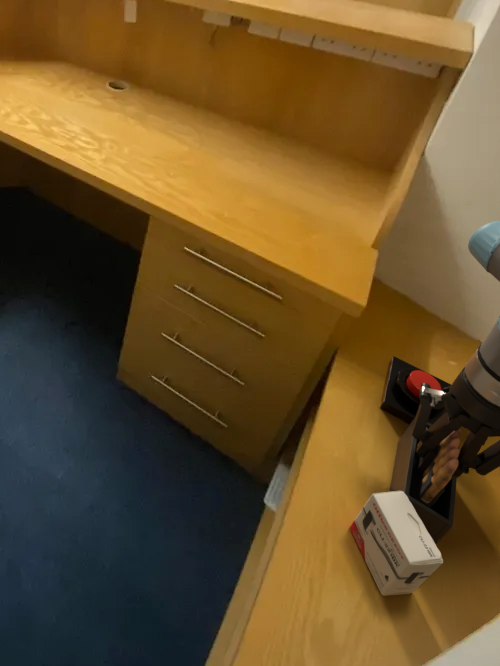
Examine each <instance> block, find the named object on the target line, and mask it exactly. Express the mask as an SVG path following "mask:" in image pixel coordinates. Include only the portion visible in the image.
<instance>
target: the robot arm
mask: <svg viewBox="0 0 500 666" xmlns="http://www.w3.org/2000/svg"><path fill="white" fill-rule="evenodd" d="M467 249H468V251H469V253H470V254H471V255H472V257H473V258H474V259H475V260H476V261H477V262H478V263H479V265H480V266H481V267H482V268H483V270H485V272H486V273H489V274H490V275H491V276H492V277H493V278H495V279H496V280H497V281H498V282H499V283H500V220H495V221H494V220H493V221H490V222H488V223H486V224H484V225H482V226H480V227H478V228H477V229H476V230H475V231H474V232H473V233H472V234H471V236H470V238H469V239H468V244H467ZM419 398H420V405H419V408H418V411H417V414H416V417H415V420H414V425H413V432H412V436H413V437H414V438H415V439H418V440H420V442H419V443H418V445H417V451H416V453H417V455H418V458H417V463H416V470H415V473H417V474H418V475H420V476H421V475H422V473H423V472H424V471H425V470H426V468H427V467H428V466H429V464H430V463H431V462H432V461H433V459H434V458H435V457H436V456H437V450H438V444H439V443H441V442H442V441H443V440H444V439H445V438H446V437H447V436H449V435H450V434H451V433H452V432H453V431H457V430H458V429H459V428H460V429H461V428H464V429H466V430H467V431H469V432H468V434H467V436H466V438H465V440H464V442H463V444H462V446H461V447H460V448H459V456H458V458H457V459H458V467H457V469H456V470H455V472H454V473H453V475H454V476H456V477H457V478H458V477H461V476H462V475H463V474H466V475H468V474H469V473H470V469H472V470H474V471H475V472H476V473H477V475H480V476H486V475H488V474H490V473H492V472H493V471H495V470H497V469H498V468H500V439H498V440H497V441H496V442H494V443H492V444H491V445H490V446H488V447H487V448H485V449H483V450H482V451H481V452H480V450H481V448H482V447H483V446H485V444H486V442H487V441H488V439H489V438H495V437H500V315H499V316H498V319H497V321H496V322H495V323H494V324H493V326H492V328H491V329H490V331H489V332H488V333H487V335H486V337H485V338H484V340H483V341H482V342H481V343H480V345H479V346H478V348H476V350H475V351H474V353H473V354H472V355H471V357H470V358H469V359H468V360H467V362H466V363H465V366H464V367H463V368H462V370H460V372H459V373H458V375H457V376H456V378H455V379H454V380H453V382H452V384H451V386H449V387H445V388H443V390H442V391H440V390H435V389H431V387H430V385H429V384H427V383H421V388H420V394H419ZM438 401H442V402H443V404H444V406H445V409H446V413H444V414H443V415H442V416H441V417H440V418H439V419H438V420H437V421H436V422H435V423H434V424H433V425H432V426H431V427H429V428H428V429H427V427H426V424H427V421H428V419H429V416H430V413H431V408H432V406H433V407H434V406H435V404H437V403H438ZM425 427H426V429H425Z"/></svg>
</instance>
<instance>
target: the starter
mask: <svg viewBox="0 0 500 666" xmlns="http://www.w3.org/2000/svg"><path fill="white" fill-rule="evenodd" d="M416 370H419V371H423V372H426V373H428V374H430V375H431V376H433V377H434V378H435V379H436V380H437V381H438V383H439V384H440V386H441V391H442V390H443V388H445V387H449V386H451V385H452V384H451V383H449V382H447V381H445V380H443V379H441V378H439V377H437V376H435V375H434V374H431V373H429V372H427V371H425V370H422V369H421V368H419V367H417V366H414V365H412V364H411V363H409V362H407V361H405V360H402V359H401V358H399V357H397V356H395V355H393V356H392V358H391V359H390V361H389V364H388V369H387V373H386V378H385V381H384V386H383V392H382V397H381V401H380V404H379V405H380V406H379V409H381V410H383V411H384V412H386V413H388V414H390V415H392V416H393V417H395V418H397V419H399V420H401V421H402V422H403V423H406V424H408V425H410V424H411V423H412V421H413V420H414V418H415V417H416V414H417V411H418V408H419V405H420V399H419V398H417V397H416V396H415V395H413V394H412V393H411V392H410V390H409V389H408V387H407V384H406V380H407V378H408V377H409V375H410V374H411V372H413V371H416ZM444 413H446V409H445V406H444V404H443V402H442V401H438V403H437V404H435V406H434V407H433V406H432V408H431V413H430V416H429V419H428V421H427V422H428V423H430V424H432V425H433V424H434V423H435V422H436V421H437V420H438V419H439V418H440V417H441V416H442V415H443V414H444Z"/></svg>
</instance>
